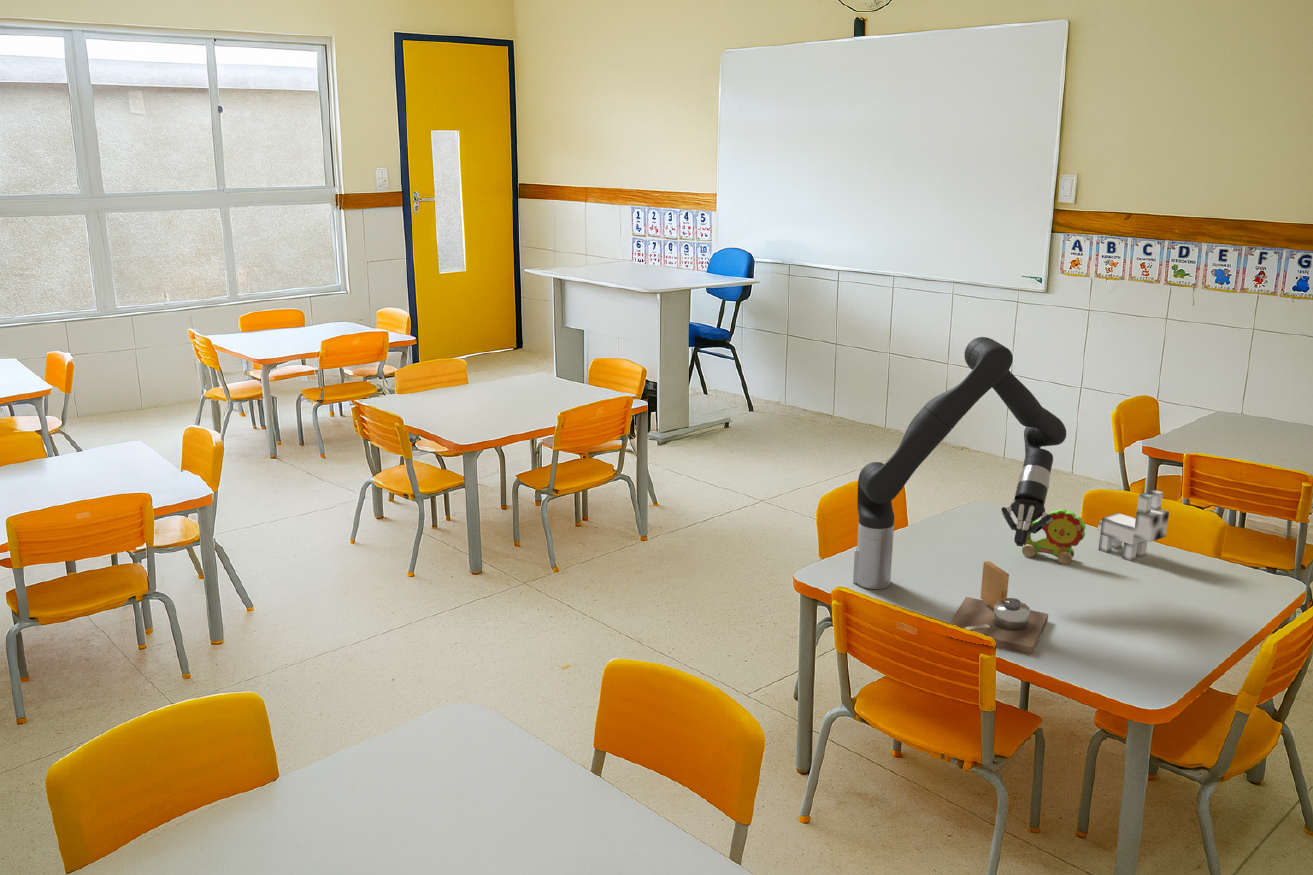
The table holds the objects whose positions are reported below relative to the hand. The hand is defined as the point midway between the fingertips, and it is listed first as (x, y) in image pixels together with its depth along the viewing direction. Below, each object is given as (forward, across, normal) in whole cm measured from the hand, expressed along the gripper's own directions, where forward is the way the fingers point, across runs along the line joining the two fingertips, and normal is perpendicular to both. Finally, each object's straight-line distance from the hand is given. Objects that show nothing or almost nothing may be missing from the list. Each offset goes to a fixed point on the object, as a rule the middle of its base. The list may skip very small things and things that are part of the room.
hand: (1019, 544), depth 253 cm
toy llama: (-22, +22, +44) cm, 54 cm away
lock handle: (+21, 0, -3) cm, 21 cm away
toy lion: (-12, +4, +34) cm, 36 cm away
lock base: (+24, 0, -3) cm, 24 cm away
